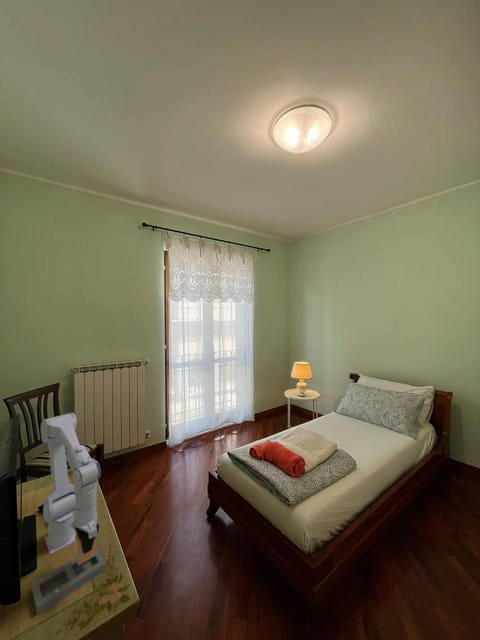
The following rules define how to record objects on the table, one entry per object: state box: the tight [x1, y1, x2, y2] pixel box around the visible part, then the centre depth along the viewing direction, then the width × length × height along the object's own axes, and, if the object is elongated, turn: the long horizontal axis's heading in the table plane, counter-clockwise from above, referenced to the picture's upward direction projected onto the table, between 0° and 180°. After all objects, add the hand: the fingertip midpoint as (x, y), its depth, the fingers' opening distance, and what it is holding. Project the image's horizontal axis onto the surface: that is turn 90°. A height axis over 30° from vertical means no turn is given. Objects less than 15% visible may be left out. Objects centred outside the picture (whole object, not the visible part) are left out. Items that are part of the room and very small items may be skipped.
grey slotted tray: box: [31, 545, 107, 616], centre depth 76 cm, size 9×17×3 cm, turn 136°
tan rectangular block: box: [74, 534, 97, 566], centre depth 79 cm, size 4×5×7 cm
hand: (85, 547), depth 79 cm, fingers closed on tan rectangular block, 4 cm apart
